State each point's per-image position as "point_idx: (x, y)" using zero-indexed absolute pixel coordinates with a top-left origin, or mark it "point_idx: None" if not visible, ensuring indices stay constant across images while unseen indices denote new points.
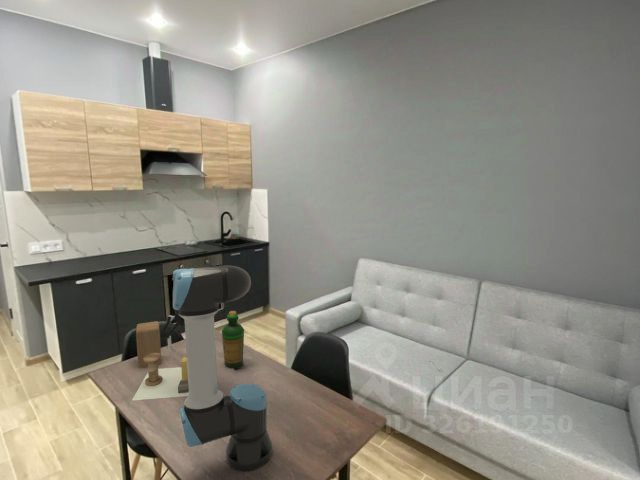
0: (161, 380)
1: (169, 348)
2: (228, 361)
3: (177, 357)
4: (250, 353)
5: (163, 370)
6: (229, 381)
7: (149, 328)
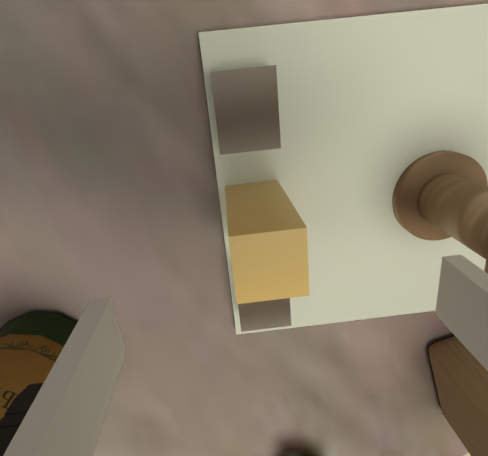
0: (398, 192)
1: (481, 282)
2: (36, 343)
3: (362, 409)
4: None
5: (406, 296)
6: (13, 205)
7: None
